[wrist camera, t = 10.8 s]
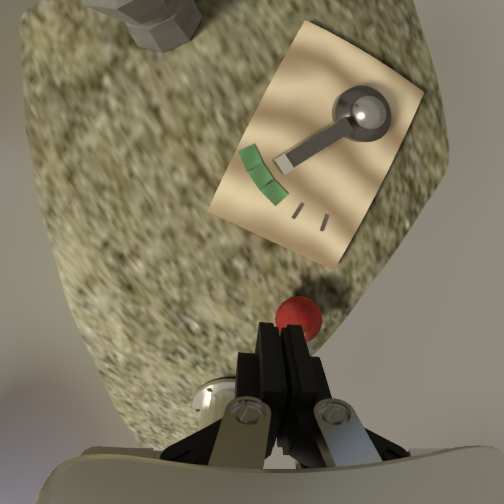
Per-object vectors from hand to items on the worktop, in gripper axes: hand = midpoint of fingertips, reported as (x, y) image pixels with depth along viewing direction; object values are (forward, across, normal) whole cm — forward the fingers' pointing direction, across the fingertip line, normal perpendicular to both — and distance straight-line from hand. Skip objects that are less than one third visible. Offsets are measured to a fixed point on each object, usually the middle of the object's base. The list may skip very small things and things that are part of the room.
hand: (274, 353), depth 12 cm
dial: (+25, -7, -11) cm, 28 cm away
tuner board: (+27, -7, -9) cm, 29 cm away
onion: (+27, -6, +12) cm, 30 cm away
